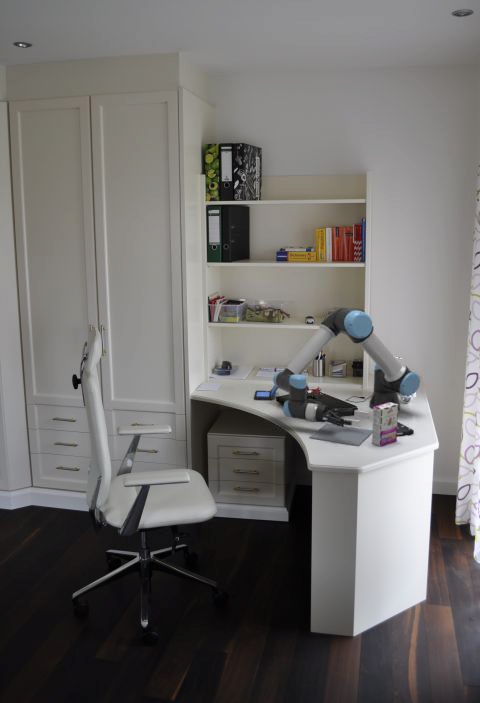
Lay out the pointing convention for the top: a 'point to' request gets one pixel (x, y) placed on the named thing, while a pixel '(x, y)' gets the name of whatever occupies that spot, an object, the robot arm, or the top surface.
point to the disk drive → (403, 430)
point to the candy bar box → (385, 424)
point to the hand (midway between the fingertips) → (364, 419)
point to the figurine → (314, 390)
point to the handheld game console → (265, 394)
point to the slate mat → (342, 434)
